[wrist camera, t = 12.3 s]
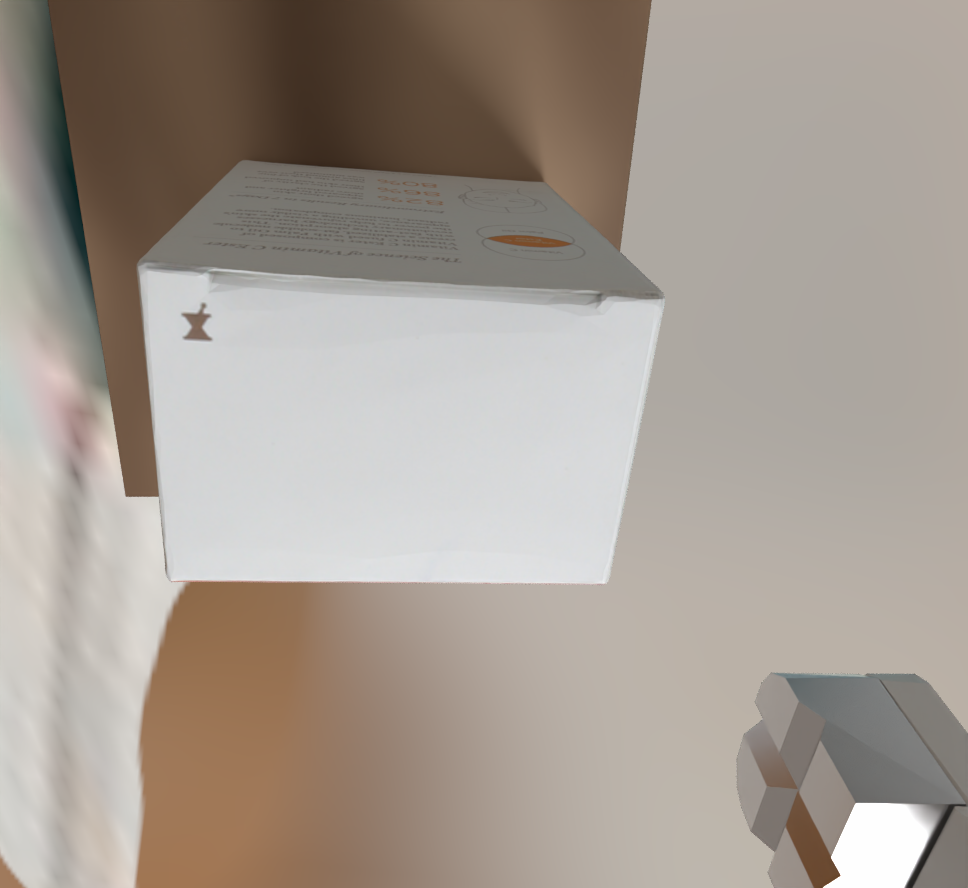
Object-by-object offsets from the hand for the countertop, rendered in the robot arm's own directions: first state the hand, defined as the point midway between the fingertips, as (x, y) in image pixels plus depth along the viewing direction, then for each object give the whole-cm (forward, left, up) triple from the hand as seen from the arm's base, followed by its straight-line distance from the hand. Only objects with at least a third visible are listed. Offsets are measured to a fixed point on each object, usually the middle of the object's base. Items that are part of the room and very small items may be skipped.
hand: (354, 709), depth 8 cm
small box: (0, 0, -17) cm, 17 cm away
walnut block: (0, 0, -21) cm, 21 cm away
